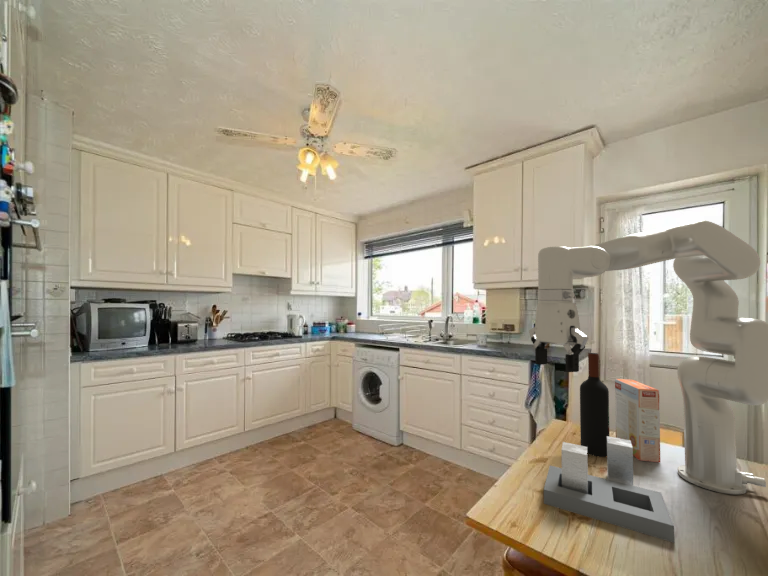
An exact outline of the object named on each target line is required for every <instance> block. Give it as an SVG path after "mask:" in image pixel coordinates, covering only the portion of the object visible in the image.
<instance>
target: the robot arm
mask: <svg viewBox="0 0 768 576" xmlns="http://www.w3.org/2000/svg"><path fill="white" fill-rule="evenodd" d="M669 260H673V263H672V264H673V266H672V267H673V270H674V271H673V272H675V275H676V276H677V277H678V278H679V279H680V280H681V281H682V282H683V283H684V284H685V285H686V287H687V288H688V289H689V291H690V293H691V295H692V300H693V301H692V302H693V303H692V312H691V313H692V314H691V323H690V331H689V341H690V345H691V346H692V347H693V348H695V349H696V350H699V351H702V352H707V353H712V354H718V355H726V356H733V357H734V359H735V360H727V359H726V360H725V359H720V358H714V357H707V356H690V357H687V358H685V359H683V360H682V361H680V363H679V365H678V367H677V372H676V373H677V379H678V382H679V386H680V390H681V394H682V401H683V402H682V403H683V404H682V405H683V406H682V407H683V432H684V433H683V435H684V436H683V438H684V464H681V465H679V466H678V467H677V474H678V475H679V476H680V477H681V478H682V479H684V480H685V481H687V482H688V483H690V484H693V485H696V486H698V487H700V488H703V489H706V490H709V491H713V492H716V493H722V494H727V495H736V496H737V495H743V494H746V493H747V485H748V484H749V485H754V486H757V487H758V486H759V487H762V488H766V487H767V481H766V479H765V478H764V477H760V476H754V474H753V473H751V472H744V471H741V470H740V469H739V468H738V467H737V443H736V441H737V440H736V417H735V413H734V411H733V410H734V409H732V406H731V404H730V403H729V401H732V402H735V403H740V404H744V405H750V406H760V405H764V404H766V403H767V402H768V322H766V321H764V320H762V319H760V318H759V319H758V318H753V317H752V318H751V317H739V301H740V300H739V297H738V295H737V293H736V291H735V290H734V288H732V287H731V286H730V285H729V284H728V283H727V282H726V281H737V280H743V279H748V278H749V277H752V276H753V275H755V274H756V273H757V272H758V271H759V269H760V266H761V259H760V256H759V254H758V252H757V251H756V250H755V248H754V247H753V246H751V245H750V244H749V243H747V242H746V241H745V240H743V239H742V238H739V237H738V236H737V235H735V234H733V233H732V232H731V231H729V230H728V229H726V228H724V227H723V226H720V225H719V224H717V223H715V222H712V221H709V220H705V219H699V220H692V221H689V222H684V223H679V224H675V225H674V224H673V225H670V226H665V227H660V228H656V229H652V230H647V231H643V232H638V233H633V234H629V235H624V236H622V237H617V238H614V239H610V240H608V241H605V242H601V243H597V244H593V245H589V246H588V245H586V246H576V247H567V246H561V245H560V246H557V245H556V246H547V247H544V248H542V249H539V251H538V256H537V262H538V263H537V265H538V266H537V273H538V275H537V276H538V277H537V278H538V279H537V280H538V285H537V287H538V295H537V296H538V297H537V298H538V302H537V306H536V312H535V321H534V322H535V325H534V326H533V327H532V328H531V329H529V330H528V333H529V335H530V341H531V343H532V344H533V345H532V346H533V348H534V349H535V355H534V356H535V357H534V358H535V364H536V365H547V364H548V348H547V346H548V344H551V345H559V346H563V347H564V349H565V351H566V352H567V354H565V372H566V373H578V372H579V371H580V356H579V355H581V354H582V352H583V350H585V349H586V345H587V343H588V340H589V337H588V336H587V335H586V334H585V333H584V332H582V331H581V325H580V316H579V313H578V312H579V311H578V307H577V304H576V303H574V298H575V292H574V291H573V289H574V288H573V287H574V286H573V285H574V283H573V282H574V281H573V280H574V279H582V278H583V279H585V278H594V277H597V276H600V275H602V274H604V273H605V272H610V271H611V272H612V271H623V270H630V269H635V268H636V269H637V268H640V267H645V266H648V265H649V266H650V265H652V264H657V263H663V262H667V261H669Z"/></svg>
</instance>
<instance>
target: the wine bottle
mask: <svg viewBox="0 0 768 576" xmlns="http://www.w3.org/2000/svg"><path fill="white" fill-rule="evenodd" d="M587 359H588V360H587V361H588V363H587V364H588V375H587V376H588V377H587V379H586V380H584V381H582V383H581V384H580V385H579V412H580V413H579V414H580V415H579V417H580V418H579V421H580V423H579V425H580V428H579V429H580V433H579V434H580V445H581V446H585V447H587V453H588V454H587V455H589V454H590V455H589V456H593V455H594V456H593V457H597V456H599V458H607V457H606V456H607V436H609V437H611V436H610V399H609V398H610V395H609V393H610V391H609V388H608V386H607V385H606V384H605V383H603V381H601V379H600V362H599V361H600V354H599V352H588V354H587Z"/></svg>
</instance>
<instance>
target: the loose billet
mask: <svg viewBox="0 0 768 576" xmlns="http://www.w3.org/2000/svg"><path fill="white" fill-rule="evenodd" d="M609 436H610V435H609ZM609 436H607V457H606V474H607V475H606V476H607V479H608V480H612V481H616V482H620V483H624V484H629V485H633V486H635V485H634V456H633V447H632V444H631V440H625V439H620V438H616V437H613V436H610V437H609Z"/></svg>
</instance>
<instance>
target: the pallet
mask: <svg viewBox="0 0 768 576" xmlns="http://www.w3.org/2000/svg"><path fill="white" fill-rule="evenodd" d="M633 485H634V484H633ZM633 485H629V484H624V483H620V482H616V481H612V480H608V478H604V477H599V476H595V475H591V474H588V494H585V493H581V492H577V491H574V490H570V489H566V488H563V487H562V467H558V466H554V465H549V466H548V471H547V475H546V479H545V484H544V487H543V504H544V505H548V506H551V507H554V508H558V509H561V510H564V511H568V512H571V513H574V514H577V515H581V516H585V517H587V518H590V519H594V520H597V521H601V522H604V523H607V524H610V525H614V526H617V527H621V528H623V529H628V530H631V531H634V532H637V533H640V534H644V535H647V536H651V537H654V538H657V539H660V540H664V541H667V542H670V543H675V525H674V523H673V520H672V517H671V515H670V512H669V510H668V507H667V504H666V502H665V499H664V496H663V493H662V492H660V491H656V490H653V489H649V488H645V487H640V486H636V485H634V486H633Z"/></svg>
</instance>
